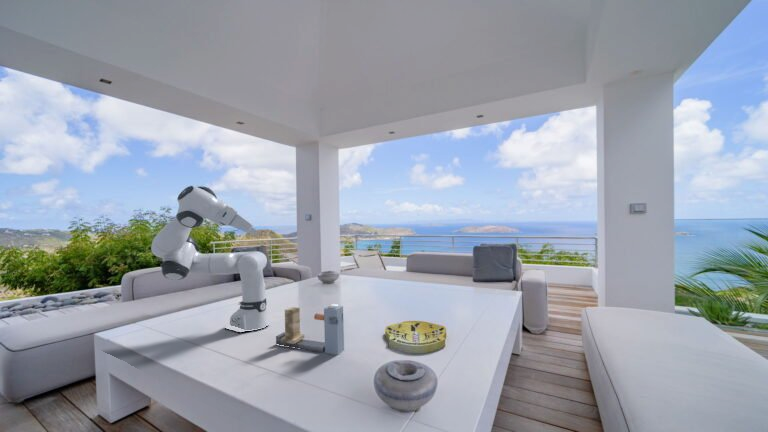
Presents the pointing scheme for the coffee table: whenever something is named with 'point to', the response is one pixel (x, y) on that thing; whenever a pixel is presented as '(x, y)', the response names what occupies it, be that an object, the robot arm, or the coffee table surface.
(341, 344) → the blue-grey post
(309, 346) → the rail
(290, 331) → the beige post on base
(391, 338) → the yellow printed disc
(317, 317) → the reddish-brown cylinder
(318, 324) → the coffee table surface
